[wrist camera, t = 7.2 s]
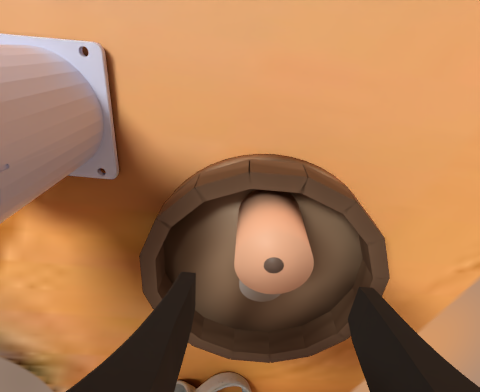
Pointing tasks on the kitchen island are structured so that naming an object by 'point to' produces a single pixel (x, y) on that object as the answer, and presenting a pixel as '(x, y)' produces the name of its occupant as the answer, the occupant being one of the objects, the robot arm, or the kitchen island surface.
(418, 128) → the kitchen island surface
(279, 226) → the bead
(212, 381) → the ceramic mug
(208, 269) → the groove tray
